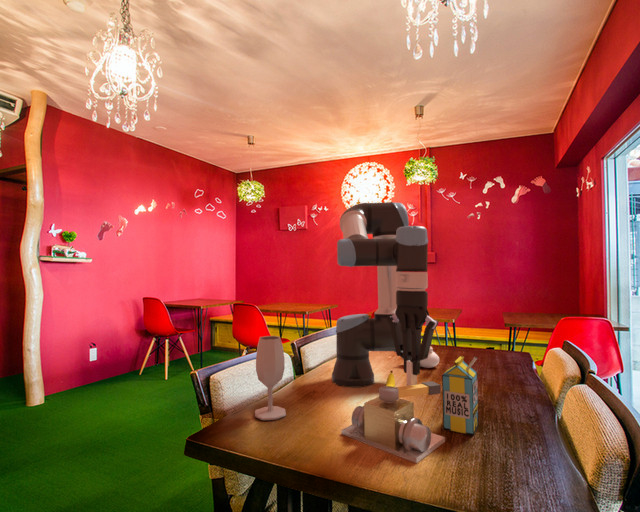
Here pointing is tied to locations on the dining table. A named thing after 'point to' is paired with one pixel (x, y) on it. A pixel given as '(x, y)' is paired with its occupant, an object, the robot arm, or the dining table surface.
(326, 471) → the dining table surface
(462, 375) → the carton
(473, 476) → the dining table surface
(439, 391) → the lever
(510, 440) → the dining table surface
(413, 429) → the valve body
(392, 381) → the banana
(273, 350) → the wineglass
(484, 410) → the dining table surface
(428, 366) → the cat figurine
